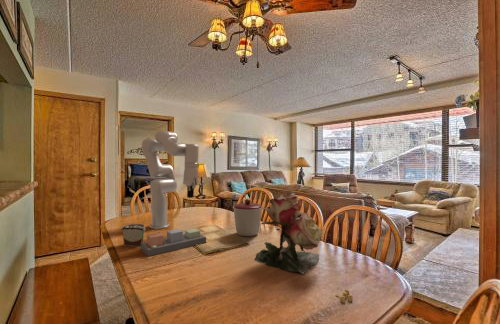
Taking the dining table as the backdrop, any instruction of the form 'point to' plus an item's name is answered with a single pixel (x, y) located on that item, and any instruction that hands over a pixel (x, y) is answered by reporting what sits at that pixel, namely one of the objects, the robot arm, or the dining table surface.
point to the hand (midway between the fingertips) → (190, 197)
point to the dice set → (345, 294)
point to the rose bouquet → (291, 236)
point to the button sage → (192, 233)
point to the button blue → (174, 235)
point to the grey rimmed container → (133, 234)
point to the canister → (247, 218)
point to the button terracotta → (154, 239)
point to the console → (171, 245)
